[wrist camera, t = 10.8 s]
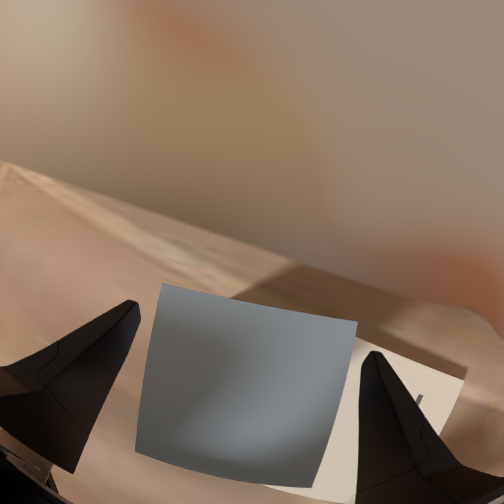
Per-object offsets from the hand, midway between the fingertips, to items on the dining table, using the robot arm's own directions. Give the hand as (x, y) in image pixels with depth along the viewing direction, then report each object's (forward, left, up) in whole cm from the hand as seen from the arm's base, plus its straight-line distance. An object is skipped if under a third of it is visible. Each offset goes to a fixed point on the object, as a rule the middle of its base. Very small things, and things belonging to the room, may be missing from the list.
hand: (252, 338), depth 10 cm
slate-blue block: (-1, 0, -8) cm, 8 cm away
